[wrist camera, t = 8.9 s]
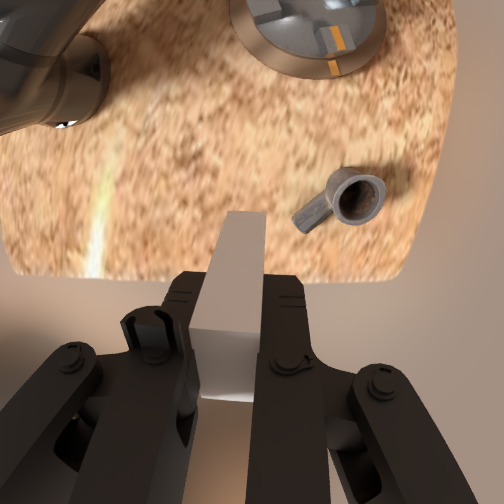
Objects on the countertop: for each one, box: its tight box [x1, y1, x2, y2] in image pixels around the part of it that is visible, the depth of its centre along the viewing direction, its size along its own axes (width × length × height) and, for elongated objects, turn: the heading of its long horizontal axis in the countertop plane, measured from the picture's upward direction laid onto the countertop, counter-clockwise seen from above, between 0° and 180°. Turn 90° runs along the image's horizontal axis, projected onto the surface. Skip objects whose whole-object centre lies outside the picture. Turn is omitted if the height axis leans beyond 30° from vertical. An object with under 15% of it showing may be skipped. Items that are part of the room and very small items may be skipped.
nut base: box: [229, 0, 386, 80], centre depth 27 cm, size 20×20×2 cm
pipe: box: [292, 167, 386, 234], centre depth 37 cm, size 6×13×8 cm, turn 134°
